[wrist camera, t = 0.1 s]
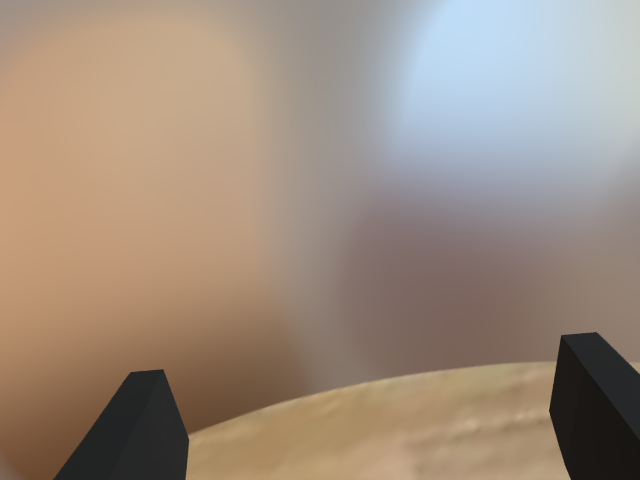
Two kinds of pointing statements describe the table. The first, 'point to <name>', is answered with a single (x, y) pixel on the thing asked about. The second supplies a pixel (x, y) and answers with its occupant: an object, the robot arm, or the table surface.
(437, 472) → the table surface
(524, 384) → the table surface
